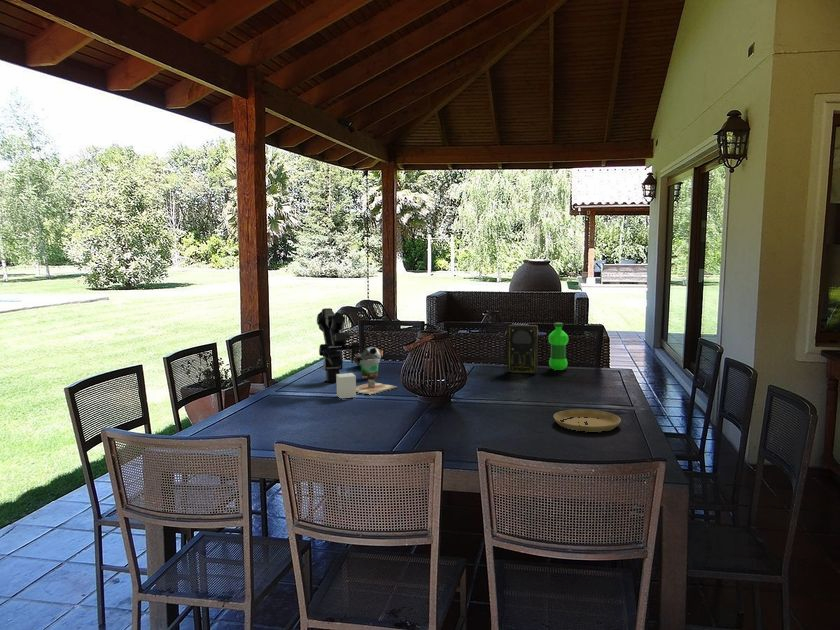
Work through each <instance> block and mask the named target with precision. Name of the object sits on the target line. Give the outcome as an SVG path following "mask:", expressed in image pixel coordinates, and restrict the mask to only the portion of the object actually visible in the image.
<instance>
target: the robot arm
mask: <svg viewBox="0 0 840 630" xmlns="http://www.w3.org/2000/svg"><path fill="white" fill-rule="evenodd" d="M345 319H346V317H345V316H344V315H343V314H341V313H340V312H334V311H333V308H331V307H329V308H326V307H325V308H322V309H321V311H319V313H318V314H317V317H316V325H318V328H319V330H320V331H321V332H322V333H323V339H324V343H321V344H320V345H319V349H318V353H319V356H320V357H322V358H323V357H324V360H323V364H322V366H323V370H324V372H326V373H325V374H326V375H325V376H326V380H324V381H327V382H326V383H328V382H331V383H330V384H335V383H334V382H336V374H341V373H340V371H341V370H343V364H344V360H343V358H342V356H341V354H340V352H343V351H350V362H351V364H353V363H354V361H353V359H354V358H355V356H357V355H358V354H360V349H361V343H360V342H359V341H352V342H350V345H346V344H347V340H350V339H351V334H350V331H345V332H343V329H344V326H345V321H346V320H345Z"/></svg>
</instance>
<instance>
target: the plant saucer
mask: <svg viewBox="0 0 840 630" xmlns="http://www.w3.org/2000/svg"><path fill="white" fill-rule="evenodd" d="M570 417H574V418H572V419H567V418H570ZM578 417H580V418H578ZM584 417H588V418H584ZM553 418H554V421H555V422H556V423H557V424H558V425H559V426H561V428H563V427H564V429H566V428H567V430H569V429H571V430H570V431H572V430H576V431H575V432H577V431H585V432H584V433H587V432H598V433H603V432H602V431H606V432H608V431H612V430H614V429H615V428H616V427H618V426H619V424H620V423H621V421H622V419H621V418H620V417H619V416H618V414H617V415H616V414H614V413H611V412H607V411H603V410H598V409H597V410H595V409H567V410H561V411H557V412H556V413H554V414H553ZM597 418H599V419H597ZM563 419H567V420H564V422H561V421H560V420H563ZM586 421H587V423H588V425H585V423H584V422H586ZM578 422H579V423H578ZM579 425H580V426H579Z"/></svg>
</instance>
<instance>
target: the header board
mask: <svg viewBox="0 0 840 630" xmlns="http://www.w3.org/2000/svg"><path fill="white" fill-rule="evenodd" d="M394 388H397V389H398V386H397V385H392V384H384V383H380V382H376V381H375V380H374V379H367V383H363V384H361V385H356V392H358V393H357V394H359V393H363V394H362V395H364V394H369V395H371V394H375V395H377V394H376V393H379V394H381V393H380V392H383V391H386V392H388V391H387V390H390V391H392V390H391V389H394ZM394 390H395V389H394ZM383 393H384V392H383ZM369 395H368V396H369ZM371 396H372V395H371Z"/></svg>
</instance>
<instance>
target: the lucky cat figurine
mask: <svg viewBox="0 0 840 630" xmlns="http://www.w3.org/2000/svg"><path fill="white" fill-rule="evenodd" d="M362 351H363V352H362V353H358V354H356V355H354V359H353V363H355V364H356V365H357V366H358V367H360V368H361V364H360V360H367V359H374V358H375V357H378V358H379V360H380V361H381V359H382V357H383V354H384V350H383V349H379V348H377V347H374V346H372V347H367V348H366V349H364V350H362Z"/></svg>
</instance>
